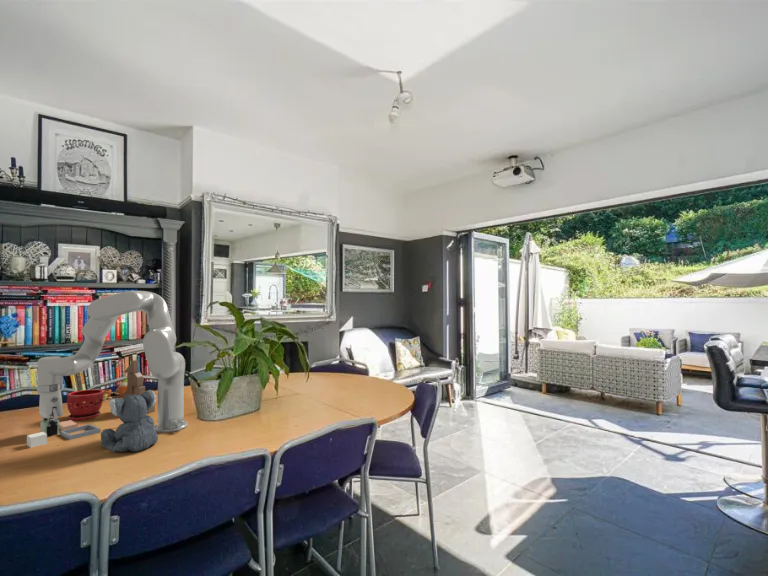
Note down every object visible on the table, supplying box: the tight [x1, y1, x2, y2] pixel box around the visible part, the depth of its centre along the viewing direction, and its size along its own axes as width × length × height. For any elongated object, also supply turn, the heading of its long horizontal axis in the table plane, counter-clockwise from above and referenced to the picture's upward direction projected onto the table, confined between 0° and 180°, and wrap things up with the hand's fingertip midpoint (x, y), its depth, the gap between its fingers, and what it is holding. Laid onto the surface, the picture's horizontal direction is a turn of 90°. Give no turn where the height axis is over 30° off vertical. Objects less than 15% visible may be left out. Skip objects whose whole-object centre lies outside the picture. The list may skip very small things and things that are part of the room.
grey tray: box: [59, 423, 101, 441], centre depth 152 cm, size 10×10×2 cm
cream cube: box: [26, 432, 48, 449], centre depth 140 cm, size 4×4×4 cm
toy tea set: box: [81, 379, 127, 403], centre depth 208 cm, size 26×16×10 cm, turn 147°
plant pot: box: [66, 389, 104, 422], centre depth 174 cm, size 13×13×12 cm
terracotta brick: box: [59, 419, 79, 431], centre depth 158 cm, size 9×4×3 cm, turn 54°
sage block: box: [39, 419, 60, 435], centre depth 151 cm, size 4×4×6 cm
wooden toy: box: [121, 359, 156, 415], centre depth 182 cm, size 16×7×25 cm, turn 71°
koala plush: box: [100, 389, 159, 453], centre depth 140 cm, size 17×18×20 cm
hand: (49, 434), depth 151 cm, fingers closed on sage block, 4 cm apart
